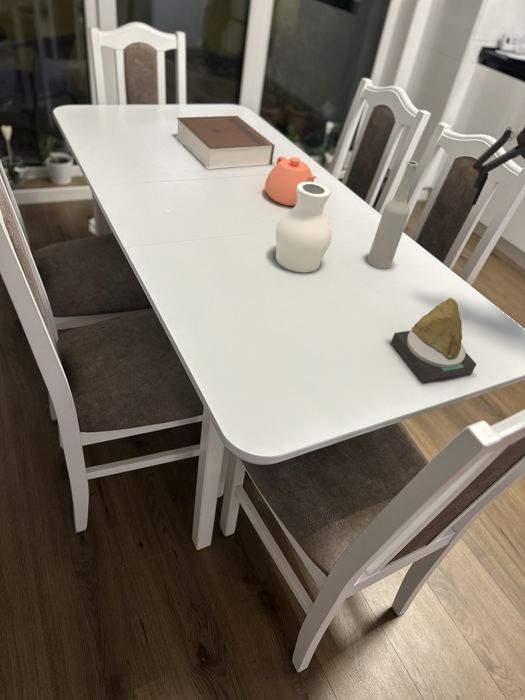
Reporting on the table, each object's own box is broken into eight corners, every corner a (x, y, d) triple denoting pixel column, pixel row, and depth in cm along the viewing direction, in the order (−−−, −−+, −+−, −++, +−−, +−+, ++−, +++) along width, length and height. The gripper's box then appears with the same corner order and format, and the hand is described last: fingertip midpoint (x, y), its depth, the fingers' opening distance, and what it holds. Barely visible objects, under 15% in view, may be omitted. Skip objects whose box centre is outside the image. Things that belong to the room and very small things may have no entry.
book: (235, 133, 205) (237, 115, 201) (271, 164, 188) (274, 145, 184) (175, 136, 194) (176, 117, 190) (208, 168, 177) (210, 149, 173)
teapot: (328, 213, 166) (338, 174, 158) (284, 217, 159) (292, 177, 151) (293, 181, 180) (301, 144, 172) (252, 184, 173) (257, 146, 165)
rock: (475, 354, 112) (463, 320, 118) (466, 329, 106) (454, 295, 113) (424, 370, 116) (415, 336, 122) (412, 347, 110) (403, 312, 116)
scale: (472, 375, 117) (479, 361, 114) (423, 384, 112) (429, 370, 109) (437, 336, 126) (443, 322, 123) (390, 342, 121) (395, 329, 118)
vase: (333, 260, 145) (352, 190, 132) (308, 281, 135) (326, 208, 122) (288, 240, 149) (302, 170, 136) (260, 259, 140) (273, 186, 127)
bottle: (363, 255, 149) (394, 156, 131) (384, 255, 151) (418, 157, 133) (373, 269, 144) (407, 167, 126) (395, 268, 146) (431, 169, 128)
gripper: (618, 125, 105) (562, 223, 119) (490, 91, 110) (451, 189, 124) (621, 135, 99) (563, 236, 113) (487, 99, 105) (446, 200, 118)
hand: (504, 212), depth 119 cm, fingers open, 13 cm apart
